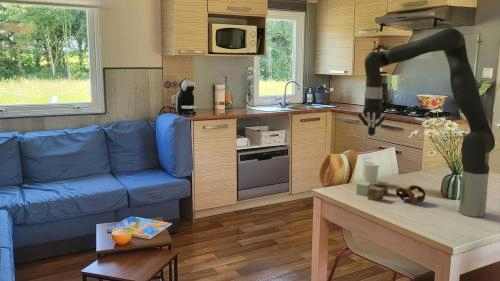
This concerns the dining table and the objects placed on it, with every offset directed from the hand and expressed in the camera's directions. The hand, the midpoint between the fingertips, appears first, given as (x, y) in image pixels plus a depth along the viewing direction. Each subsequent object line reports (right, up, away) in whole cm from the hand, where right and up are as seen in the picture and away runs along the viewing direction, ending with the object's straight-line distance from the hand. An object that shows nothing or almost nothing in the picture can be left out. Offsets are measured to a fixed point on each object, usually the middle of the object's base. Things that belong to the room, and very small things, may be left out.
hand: (371, 135), depth 202 cm
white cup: (+4, -24, +19) cm, 31 cm away
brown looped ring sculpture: (+14, -29, -10) cm, 34 cm away
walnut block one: (+5, -27, +2) cm, 27 cm away
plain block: (-3, -27, +1) cm, 27 cm away
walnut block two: (0, -28, -7) cm, 29 cm away
